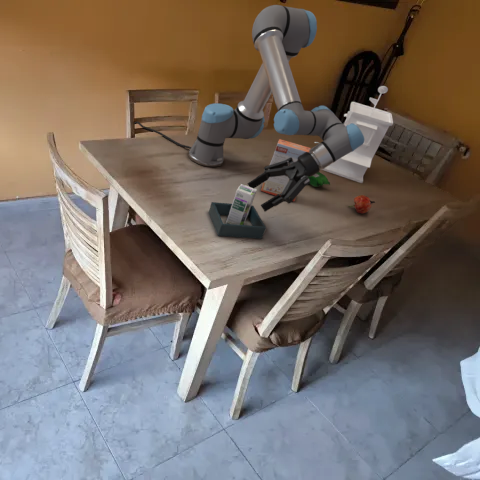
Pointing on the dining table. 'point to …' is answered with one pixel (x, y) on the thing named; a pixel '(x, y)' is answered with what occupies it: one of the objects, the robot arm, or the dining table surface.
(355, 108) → the white toy machine
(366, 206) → the pomegranate
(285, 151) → the cracker box
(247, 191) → the syrup box
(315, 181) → the snack package
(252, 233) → the bin
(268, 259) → the dining table surface
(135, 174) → the dining table surface
